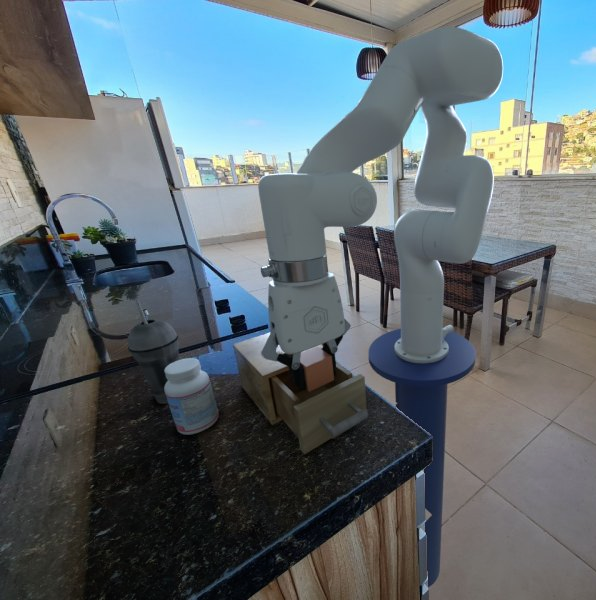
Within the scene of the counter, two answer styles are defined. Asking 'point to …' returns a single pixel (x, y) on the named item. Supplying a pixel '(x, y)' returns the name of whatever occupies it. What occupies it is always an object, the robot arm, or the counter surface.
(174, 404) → the pill bottle
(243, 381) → the cabinet
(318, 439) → the drawer
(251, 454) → the counter surface
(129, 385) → the counter surface
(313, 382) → the block
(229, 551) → the counter surface
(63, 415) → the counter surface
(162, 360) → the beverage cup
